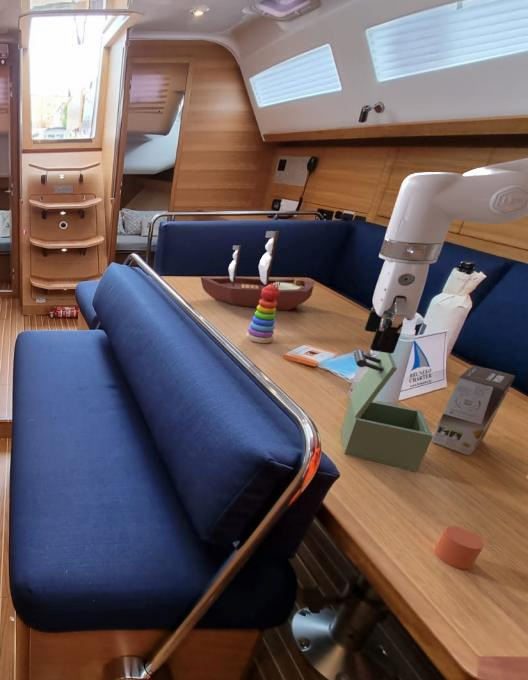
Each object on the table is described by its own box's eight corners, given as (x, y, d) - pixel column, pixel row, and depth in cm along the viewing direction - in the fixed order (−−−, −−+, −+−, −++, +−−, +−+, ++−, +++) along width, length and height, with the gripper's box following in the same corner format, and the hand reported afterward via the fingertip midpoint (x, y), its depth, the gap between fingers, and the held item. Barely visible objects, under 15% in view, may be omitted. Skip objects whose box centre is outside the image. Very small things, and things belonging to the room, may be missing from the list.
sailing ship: (309, 316, 155) (330, 236, 143) (195, 304, 173) (205, 232, 161) (305, 301, 169) (323, 228, 157) (199, 291, 187) (209, 225, 175)
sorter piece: (467, 552, 66) (478, 532, 64) (475, 574, 63) (488, 553, 61) (431, 541, 68) (441, 521, 66) (438, 562, 65) (449, 541, 63)
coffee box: (470, 457, 85) (504, 390, 78) (429, 441, 90) (458, 377, 83) (483, 440, 89) (516, 375, 83) (443, 426, 94) (472, 363, 88)
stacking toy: (258, 345, 135) (270, 290, 128) (240, 336, 142) (250, 283, 135) (278, 341, 137) (291, 287, 129) (259, 332, 144) (270, 280, 136)
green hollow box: (407, 444, 89) (421, 410, 86) (416, 472, 82) (433, 436, 78) (340, 429, 95) (351, 396, 91) (344, 454, 88) (356, 419, 84)
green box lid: (388, 348, 85) (359, 338, 87) (397, 368, 77) (365, 357, 79) (354, 395, 91) (327, 385, 93) (359, 418, 84) (329, 407, 86)
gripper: (453, 264, 62) (413, 364, 69) (427, 242, 75) (396, 328, 83) (388, 260, 66) (356, 355, 73) (375, 239, 79) (349, 322, 86)
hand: (377, 341), depth 78 cm, fingers open, 9 cm apart
